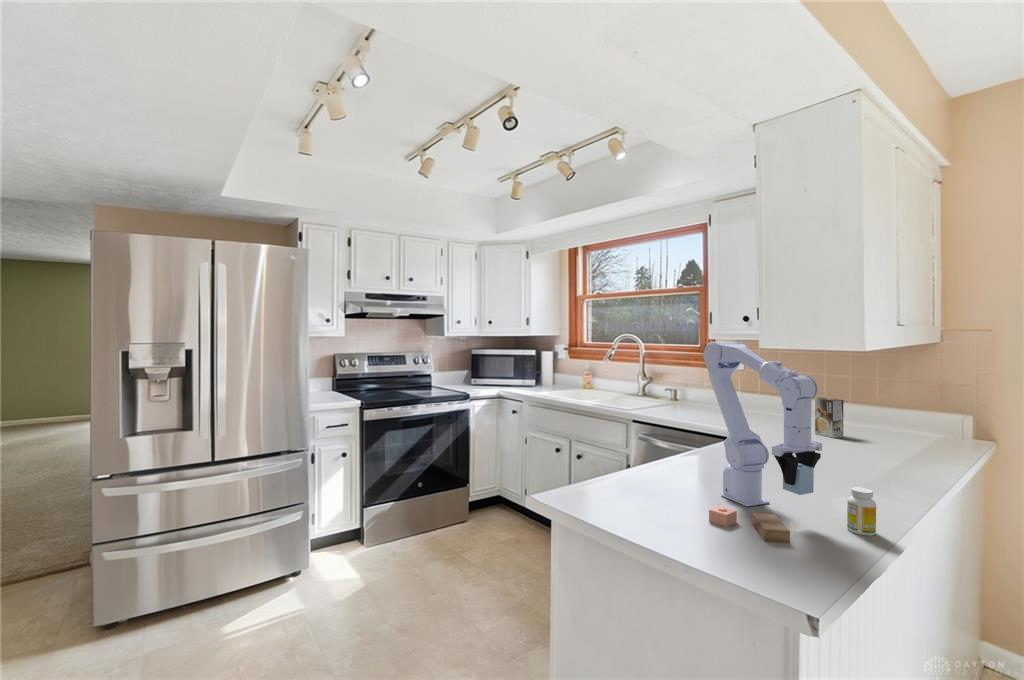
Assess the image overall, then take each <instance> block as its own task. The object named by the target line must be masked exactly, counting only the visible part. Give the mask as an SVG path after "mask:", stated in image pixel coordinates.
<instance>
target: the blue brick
mask: <svg viewBox="0 0 1024 680" xmlns="http://www.w3.org/2000/svg"><path fill="white" fill-rule="evenodd" d="M814 471H815V467H810V466H807V465H803V464H800V463H799V464H798V466H797V470H796V480H795V485H789V484H786V483H785V481H784V477H783V476H782V490H783V491H786V492H791V493H793V494H795V495H798V496H801V495H808V494H813V493H814V483H815V482H814V481H815V479H814V477H815V476H814Z"/></svg>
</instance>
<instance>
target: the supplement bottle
mask: <svg viewBox="0 0 1024 680" xmlns="http://www.w3.org/2000/svg"><path fill="white" fill-rule="evenodd" d="M850 491H851V492H850V494H851V496H848V498H847V510H846V511H847V513H846V515H847V517H846V523H847V524H846V525H847V526H846V528H847V530H848V531H850V532H851V533H853V534H857V535H860V536H875V535H876V532H877V503H876V501H875V500H874V499H873V497H874V491H873V490H872V489H871V488H870V489H869V488H866V487H860V486H859V487H858V486H855V487H851V490H850Z"/></svg>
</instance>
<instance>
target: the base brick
mask: <svg viewBox="0 0 1024 680" xmlns="http://www.w3.org/2000/svg"><path fill="white" fill-rule="evenodd" d="M751 525H752V526H753V527H754V529H755V530H756V531H757V533H758V534H759V536H760V537H761V538H762V540H763V541H764V542H768V543H782V544H791V531H790V529H789V528H788V527H787V526H786V525H785V524H784V523H783V522H782V521H781V519H780V518H779V517H778V516H777V515H776V514H775V513H764V512H751Z"/></svg>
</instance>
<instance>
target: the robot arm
mask: <svg viewBox="0 0 1024 680" xmlns="http://www.w3.org/2000/svg"><path fill="white" fill-rule="evenodd" d="M702 357H703V360H704V363H705V367H706V369H707V373H708V376H709V377H708V378H709V380H710V383H711V387H712V389H713V391H714V392H713V393H714V395H715V398H716V400H717V403H718V407H719V409H720V411H721V415H722V417H723V420H724V423H725V426H726V429H727V432H728V435H727V438H725V440H724V441H723V445H724V446H723V447H724V449H725V458H726V460H727V461H726V462H727V463H728V464H727V465H726V466H725V467H724V470H723V473H722V474H723V475H722V479H723V480H722V490H723V491H722V493H720V496H721V497H724V498H726V499H728V500H731V501H732V502H736V503H737V504H741V505H742V506H745V507H753V506H758V505H760V506H761V505H764V504H770V500H768V499H766V498H763V487H762V486H763V469H764V468H765V465H767V463H768V462H769V459H770V454H769V449H768V448H767V445H765V444H764V442H763V441H762V439H761V436H760V435H759V434H757V433H756V432H754V431H753V430H751V429H750V425H749V424H748V420H747V418H746V415H745V413H744V410H743V407H742V405H741V402H740V399H739V397H738V394H737V391H736V388H735V385H734V383H733V380H732V375H733V374H734V373H735V372H736V371H737V369H738V368H739V367H740V365H741V364H742V365H743V366H745V367H747V368H749V369H751V370H753V371H755V372H757V373H758V376H759V379H760V380H761V381H763V382H764V383H766V384H767V385H769V386H770V387H772V388H774V389H775V390H777V392H778V395H779V396H780V398H781V405H782V407H783V442H782V443H779V444H777V445H772V446H771V455H772V456H774V458H775V460H776V462H777V463H778V465H779V467H780V470H781V473H782V478H783V477H784V481H785V483H786V484H789V485H795V480H796V470H797V466H798V464H799V463H800V464H803V465H807V466H810V467H814V468H815V467H816V466H817V464H818V462H819V460H820V459H821V457H822V455H821V453H820V452H821V451H823V442H821V441H814V440H813V441H812V400H813V399H815V398H816V396H817V394H818V384H817V382H816V380H815V379H814V378H812V377H811V376H810V375H808V374H807V375H806V374H804V375H799V374H798V373H797V371H796V370H791V369H789V368H787V367H786V366H784V365H782V364H783V363H782V362H781V361H780V360H769V361H766V360H765V359H763V358H762V357H761V356H759V355H758V354H756V353H755V352H754V351H752V350H750V349H749V348H748V347H747V345H746V344H744V343H742V342H740V341H719V342H717V341H710V342H708V343H707V344H706V345H705V348H704V350H703V354H702ZM816 451H818V452H816ZM794 454H795V455H794Z"/></svg>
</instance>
